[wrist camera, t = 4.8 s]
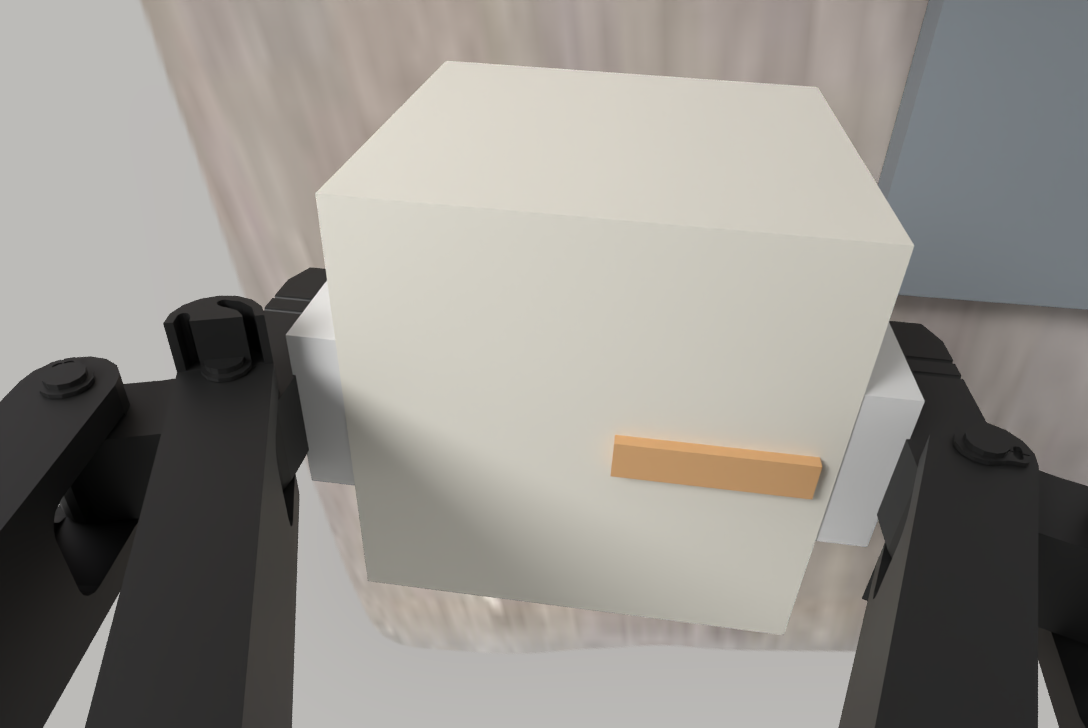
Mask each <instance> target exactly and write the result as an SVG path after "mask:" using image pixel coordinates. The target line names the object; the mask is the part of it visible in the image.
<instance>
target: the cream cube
mask: <svg viewBox="0 0 1088 728" xmlns="http://www.w3.org/2000/svg"><path fill="white" fill-rule="evenodd" d="M315 195H316V202H317V210H318V217H319V224H320V232H321V239H322V246H323V254H324V261H325V268H326V276H327V283H328V291H329V298H330V305H331V313H332V320H333V327H334V335H335V342H336V349H337V357H338V364H339V371H340V379H341V386H342V394H343V401H344V408H345V416H346V423H347V430H348V438H349V445H350V452H351V460H352V467H353V474H354V482H355V489H356V497H357V504H358V511H359V519H360V526H361V533H362V541H363V548H364V555H365V563H366V570H367V577H368V581H371V582H379V583H386V584H394V585H402V586H409V587H417V588H425V589H432V590H440V591H448V592H455V593H463V594H471V595H478V596H486V597H494V598H501V599H509V600H517V601H524V602H532V603H540V604H547V605H555V606H563V607H570V608H578V609H586V610H593V611H601V612H609V613H616V614H624V615H632V616H639V617H647V618H655V619H662V620H670V621H678V622H685V623H693V624H701V625H708V626H716V627H724V628H731V629H739V630H747V631H754V632H762V633H770V634H777V635H784V633H785V630H786V627H787V624H788V621H789V618H790V615H791V612H792V609H793V606H794V603H795V600H796V597H797V594H798V591H799V588H800V585H801V582H802V579H803V576H804V573H805V570H806V567H807V564H808V561H809V558H810V555H811V552H812V549H813V546H814V543H815V540H816V537H817V534H818V531H819V528H820V526H821V523H822V520H823V517H824V514H825V511H826V508H827V505H828V502H829V499H830V496H831V493H832V490H833V487H834V484H835V481H836V478H837V475H838V472H839V469H840V466H841V463H842V460H843V457H844V454H845V451H846V448H847V445H848V442H849V439H850V436H851V433H852V430H853V427H854V424H855V421H856V418H857V415H858V412H859V409H860V406H861V403H862V400H863V397H864V394H865V391H866V388H867V385H868V382H869V380H870V377H871V374H872V371H873V368H874V365H875V362H876V359H877V356H878V353H879V350H880V347H881V344H882V341H883V338H884V335H885V332H886V329H887V326H888V323H889V320H890V317H891V314H892V311H893V308H894V305H895V302H896V299H897V296H898V293H899V290H900V287H901V284H902V281H903V278H904V275H905V272H906V269H907V266H908V263H909V260H910V257H911V254H912V251H913V248H914V244H913V242H912V241H911V239H910V238H909V236H908V234H907V233H906V231H905V229H904V228H903V226H902V224H901V223H900V221H899V220H898V218H897V216H896V215H895V213H894V211H893V210H892V208H891V206H890V205H889V203H888V202H887V200H886V198H885V197H884V195H883V193H882V192H881V190H880V188H879V187H878V185H877V184H876V182H875V180H874V179H873V177H872V175H871V174H870V172H869V170H868V169H867V167H866V166H865V164H864V162H863V161H862V159H861V157H860V156H859V154H858V152H857V151H856V149H855V148H854V146H853V144H852V143H851V141H850V139H849V138H848V136H847V134H846V133H845V131H844V130H843V128H842V126H841V125H840V123H839V121H838V120H837V118H836V116H835V115H834V113H833V112H832V110H831V108H830V107H829V105H828V103H827V102H826V100H825V98H824V97H823V95H822V94H821V92H820V90H819V89H818V87H808V86H794V85H780V84H766V83H752V82H738V81H724V80H710V79H696V78H681V77H667V76H653V75H639V74H625V73H611V72H597V71H583V70H569V69H554V68H540V67H526V66H512V65H498V64H484V63H470V62H456V61H445V62H444V64H443V65H442V66H441V67H440V68H439V69H438V70H437V71H436V72H435V73H434V74H433V75H432V76H431V77H430V78H429V79H428V80H427V81H426V82H425V83H424V84H423V85H422V86H421V87H420V88H419V89H418V90H417V91H416V92H415V93H414V94H413V95H412V96H411V97H410V98H409V99H408V100H407V101H406V102H405V103H404V104H403V105H402V106H401V107H400V108H399V109H398V110H397V111H396V112H395V113H394V114H393V115H392V116H391V117H390V118H389V119H388V120H387V121H386V122H385V123H384V124H383V125H382V126H381V127H380V128H379V129H378V130H377V131H376V132H375V133H374V134H373V136H372V137H371V138H370V139H369V140H368V141H367V142H366V143H365V144H364V145H363V146H362V147H361V148H360V149H359V150H358V151H357V152H356V153H355V154H354V155H353V156H352V157H351V158H350V159H349V160H348V161H347V162H346V163H345V164H344V165H343V166H342V167H341V168H340V169H339V170H338V171H337V172H336V173H335V174H334V175H333V176H332V177H331V178H330V179H329V180H328V181H327V182H326V183H325V184H324V185H323V186H322V187H321V188H320V189H319V190H318V191H317V192H316V193H315Z"/></svg>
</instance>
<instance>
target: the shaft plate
mask: <svg viewBox="0 0 1088 728" xmlns="http://www.w3.org/2000/svg"><path fill="white" fill-rule="evenodd" d="M878 187H879V188H880V190H881V192H882V193H883V195H884V197H885V198H886V200H887V202H888V203H889V205H890V206H891V208H892V210H893V211H894V213H895V215H896V216H897V218H898V220H899V221H900V223H901V224H902V226H903V228H904V229H905V231H906V233H907V234H908V236H909V238H910V239H911V241H912V242H913V244H914V248H913V251H912V254H911V257H910V260H909V263H908V266H907V269H906V272H905V275H904V278H903V281H902V284H901V287H900V290H899V293H898V295H906V296H919V297H932V298H945V299H957V300H970V301H983V302H996V303H1008V304H1021V305H1034V306H1047V307H1060V308H1072V309H1085V310H1088V0H929V2H928V6H927V9H926V13H925V17H924V20H923V24H922V27H921V31H920V35H919V38H918V42H917V46H916V49H915V53H914V56H913V60H912V64H911V67H910V71H909V74H908V78H907V82H906V85H905V89H904V93H903V96H902V100H901V103H900V107H899V111H898V114H897V118H896V122H895V125H894V129H893V132H892V136H891V140H890V143H889V147H888V151H887V154H886V158H885V161H884V165H883V169H882V172H881V176H880V179H879V183H878Z"/></svg>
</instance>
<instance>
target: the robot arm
mask: <svg viewBox="0 0 1088 728" xmlns="http://www.w3.org/2000/svg"><path fill="white" fill-rule="evenodd" d="M164 328H165V331H166V334H167V338H168V342H169V345H170V349H171V352H172V356H173V359H174V363H175V366H176V370H177V375H176V379H170V380H163V381H152V382H142V383H131V384H123V382H122V379H121V376H120V373H119V370H118V367H117V365H115V364H114V363H112V362H110V361H109V360H107V359H103V358H96V357H77V358H75V357H73V358H67V359H64V360H58V361H55V362H52V363H50V364H48V365H46V366H44V367H42V368H39V369H37V370H35V371H33V372H32V373H30V374H29V375H28V376H26V377H25V378H24V379H23V380H21V381H20V382H19V383H18V384H17V385H16V386H15V387H14V388H13V389H12V390H11V391H10V392H9V393H8V394H7V395H6V396H5V397H4V398H3V400H2V401H1V402H0V728H43V726H44V724H45V723H46V721H47V719H48V718H49V716H50V714H51V712H52V710H53V709H54V707H55V705H56V703H57V701H58V700H59V698H60V696H61V695H62V693H63V691H64V689H65V688H66V686H67V684H68V682H69V681H70V679H71V677H72V675H73V673H74V672H75V670H76V668H77V666H78V665H79V663H80V661H81V659H82V658H83V656H84V654H85V652H86V651H87V649H88V647H89V645H90V643H91V642H92V640H93V638H94V636H95V635H96V633H97V631H98V629H99V628H100V626H101V624H102V622H103V621H104V619H105V617H106V615H107V613H108V612H109V610H110V608H111V606H112V605H113V603H114V601H115V599H116V597H117V596H118V594H119V592H120V595H119V598H118V602H117V606H116V610H115V614H114V618H113V622H112V626H111V629H110V633H109V637H108V641H107V645H106V648H105V652H104V656H103V660H102V664H101V668H100V672H99V675H98V680H97V683H96V687H95V691H94V695H93V699H92V702H91V707H90V710H89V714H88V718H87V722H86V725H85V728H292V704H293V674H294V643H295V613H296V582H297V551H298V522H299V490H298V485H297V479H296V474H295V473H296V472H297V470H298V468H299V467H300V465H301V463H302V461H303V460H304V458H305V456H306V454H307V456H308V462H309V467H310V473H311V478H312V480H314V481H322V482H331V483H339V484H347V485H355V482H354V474H353V467H352V460H351V452H350V445H349V438H348V430H347V423H346V416H345V408H344V401H343V394H342V386H341V379H340V371H339V364H338V357H337V349H336V342H335V335H334V327H333V320H332V313H331V305H330V298H329V291H328V283H327V276H326V269H320V268H309V269H307V270H305V271H303V272H301V273H300V274H298V275H296V276H294V277H292V278H291V279H289V280H288V281H287V282H286V283H285V284H284V285H283V286H282V288H281V289H280V290H279V291H278V292H277V294H276V295H275V298H272V299H271V301H270V302H269V303H268V304H267V305H266V307H265V311H263V309H262V306H261V305H259V304H258V303H256V302H255V301H253V300H252V299H248V298H243V297H239V296H215V297H209V298H203V299H199V300H196V301H193V302H190V303H188V304H185V305H183V306H181V307H180V308H178V309H176V310H175V311H174V312H172V313H170V315H169V316H168V317H167V319H166V320H165V322H164ZM952 362H953V360H952V358H951V356H950V354H949V352H948V350H947V348H946V347H945V345H944V343H943V341H941V340H940V339H939V338H938V337H937V336H935V335H934V334H933V333H932V332H930V331H929V330H928V329H927V328H926V327H924V326H923V325H922V324H916V323H905V322H895V321H889V323H888V326H887V329H886V332H885V335H884V338H883V341H882V344H881V347H880V350H879V353H878V356H877V359H876V362H875V365H874V368H873V371H872V374H871V377H870V380H869V382H868V385H867V388H866V391H865V394H864V397H863V400H862V403H861V406H860V409H859V412H858V415H857V418H856V421H855V424H854V427H853V430H852V433H851V436H850V439H849V442H848V445H847V448H846V451H845V454H844V457H843V460H842V463H841V466H840V469H839V472H838V475H837V478H836V481H835V484H834V487H833V490H832V493H831V496H830V499H829V502H828V505H827V508H826V511H825V514H824V517H823V520H822V523H821V526H820V528H819V531H818V534H817V537H816V540H815V541H821V542H829V543H837V544H846V545H854V546H862V547H867V546H868V544H869V541H870V538H871V536H872V533H873V531H874V528H875V526H876V523H877V521H878V520H879V523H880V526H881V530H882V533H883V536H884V539H885V544H884V546H883V549H882V551H881V554H880V556H879V559H878V561H877V563H876V566H875V568H874V571H873V573H872V575H871V578H870V580H869V583H868V585H867V588H866V590H865V592H864V595H863V597H862V599H864V600H867V601H868V602H867V606H866V611H865V615H864V619H863V624H862V628H861V632H860V637H859V641H858V646H857V650H856V654H855V659H854V664H853V667H852V672H851V676H850V680H849V685H848V690H847V693H846V698H845V702H844V706H843V711H842V715H841V720H840V724H839V728H1038V660H1039V664H1040V667H1041V669H1042V673H1043V677H1044V680H1045V683H1046V686H1047V689H1048V693H1049V696H1050V699H1051V702H1052V705H1053V709H1054V712H1055V715H1056V718H1057V722H1058V725H1059V728H1088V486H1085V485H1082V484H1079V483H1075V482H1072V481H1069V480H1065V479H1062V478H1059V477H1056V476H1053V475H1050V474H1048V473H1045V472H1042V471H1040V470H1039V466H1038V463H1037V460H1036V457H1035V454H1034V453H1033V452H1032V451H1031V450H1030V449H1029V447H1028V446H1027V445H1026V444H1025V443H1024V442H1023V441H1022V440H1020V439H1019V438H1017V437H1015V436H1014V435H1012V434H1011V433H1009V432H1008V431H1006V430H1004V429H1001V428H999V427H996V426H994V425H991V424H989V423H987V422H986V421H985V419H984V417H983V415H982V413H981V411H980V410H979V408H978V406H977V404H976V402H975V400H974V398H973V397H972V395H971V393H970V391H969V389H968V387H967V385H966V384H965V382H964V380H963V379H961V374H960V373H959V371H958V369H957V367H956V365H955V364H952ZM59 504H60V505H59ZM58 505H59V506H58ZM57 507H58V508H57Z"/></svg>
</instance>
